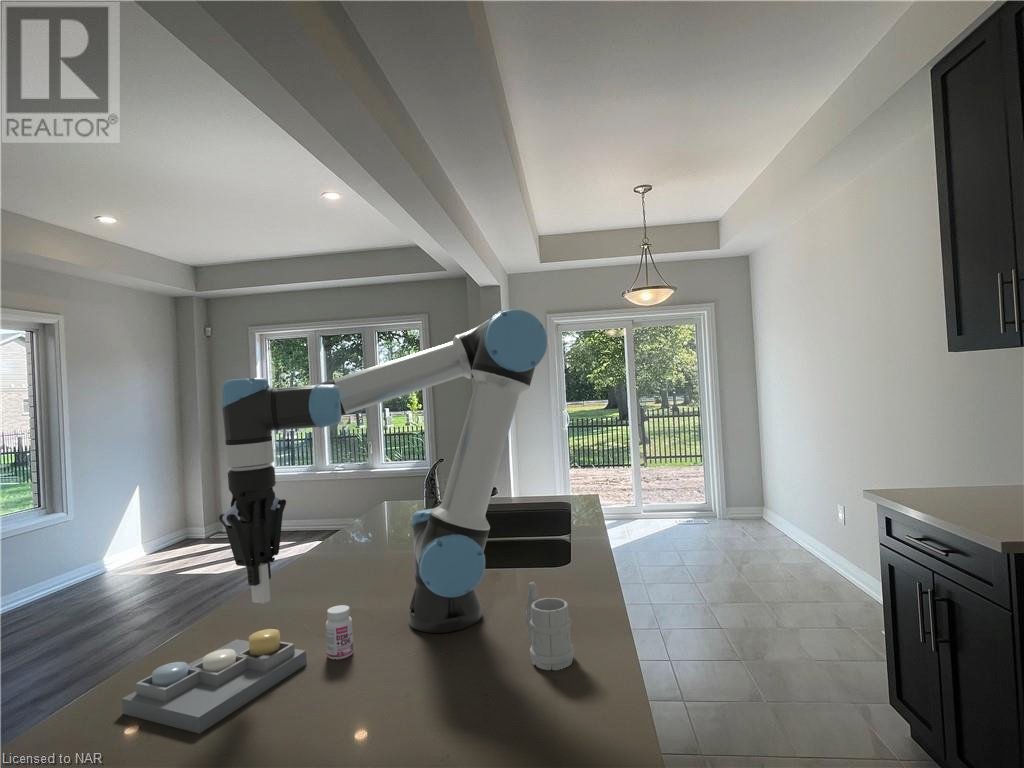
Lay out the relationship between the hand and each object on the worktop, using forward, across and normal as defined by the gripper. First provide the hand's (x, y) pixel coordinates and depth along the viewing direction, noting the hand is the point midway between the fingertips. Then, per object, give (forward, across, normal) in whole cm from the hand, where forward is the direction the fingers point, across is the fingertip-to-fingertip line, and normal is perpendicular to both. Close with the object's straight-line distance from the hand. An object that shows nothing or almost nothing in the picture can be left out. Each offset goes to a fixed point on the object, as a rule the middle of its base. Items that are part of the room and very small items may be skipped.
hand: (261, 601), depth 103 cm
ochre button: (+9, 0, 0) cm, 9 cm away
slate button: (+10, +12, -8) cm, 17 cm away
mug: (+14, -20, +45) cm, 51 cm away
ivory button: (+10, +6, -4) cm, 12 cm away
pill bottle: (+13, -10, +8) cm, 18 cm away
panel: (+13, +6, -4) cm, 15 cm away
